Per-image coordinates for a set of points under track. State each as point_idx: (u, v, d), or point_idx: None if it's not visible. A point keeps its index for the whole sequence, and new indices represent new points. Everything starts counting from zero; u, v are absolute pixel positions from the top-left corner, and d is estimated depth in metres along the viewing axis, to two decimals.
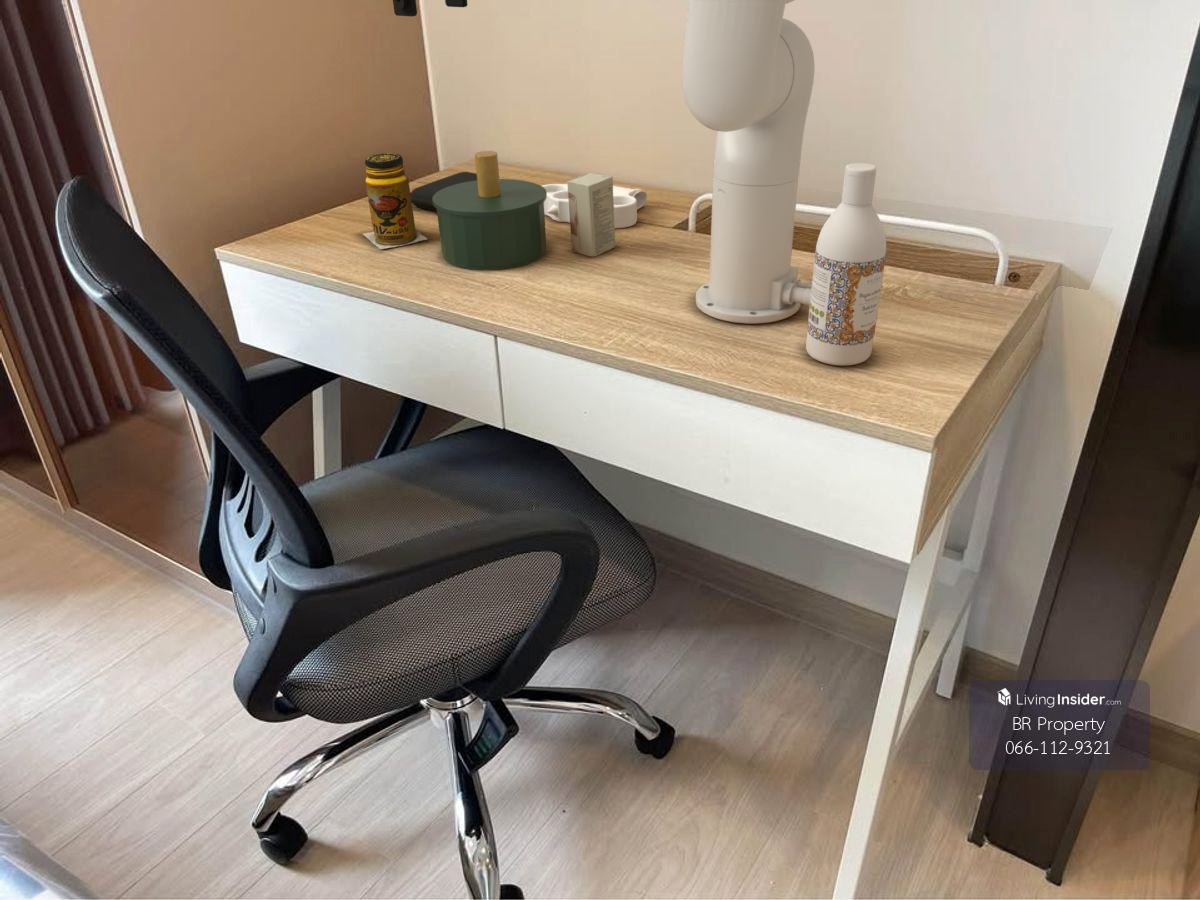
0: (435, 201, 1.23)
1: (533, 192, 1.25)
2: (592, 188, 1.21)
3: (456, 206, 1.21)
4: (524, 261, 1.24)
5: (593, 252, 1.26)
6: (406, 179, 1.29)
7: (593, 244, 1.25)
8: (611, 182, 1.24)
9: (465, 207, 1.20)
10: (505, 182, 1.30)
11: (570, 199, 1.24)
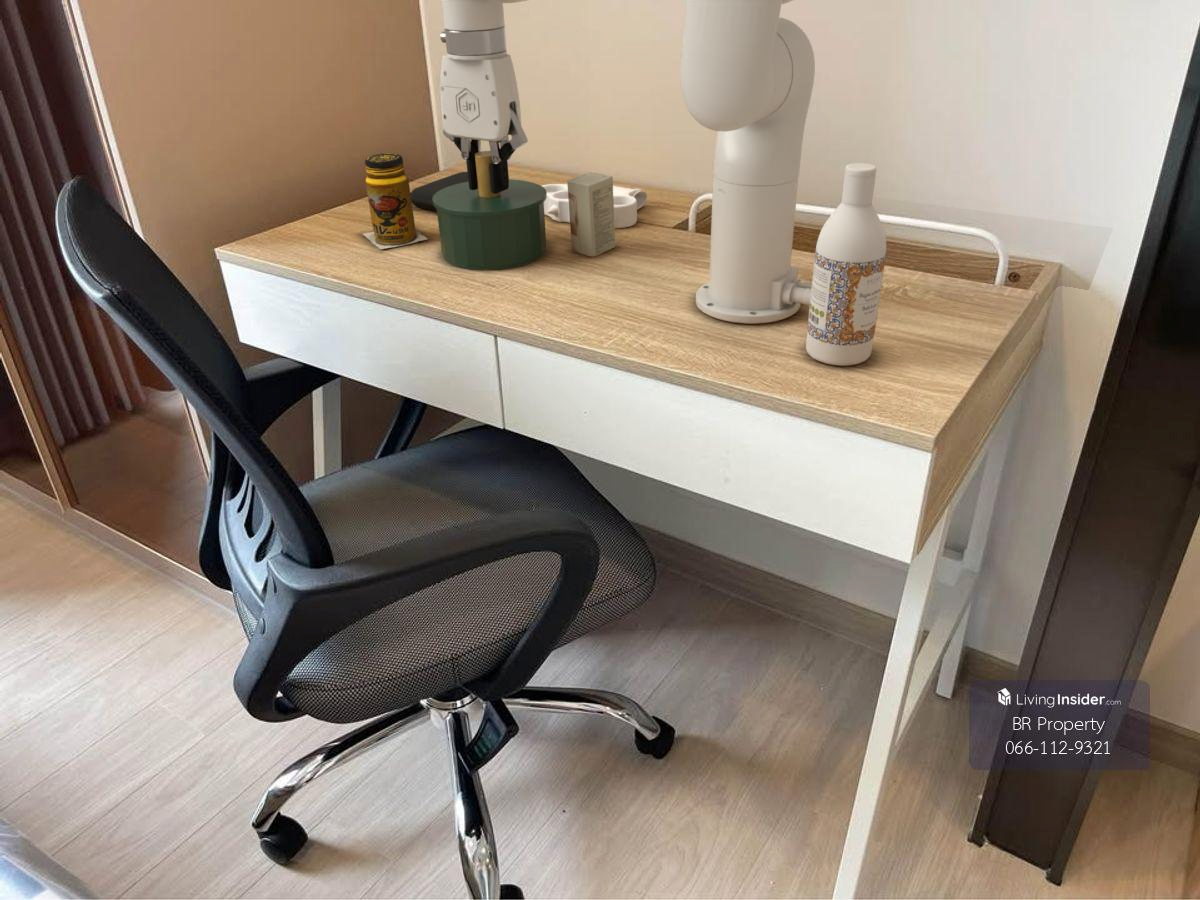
0: (435, 201, 1.23)
1: (533, 192, 1.25)
2: (592, 188, 1.21)
3: (456, 206, 1.21)
4: (524, 261, 1.24)
5: (593, 252, 1.26)
6: (406, 179, 1.29)
7: (593, 244, 1.25)
8: (611, 182, 1.24)
9: (465, 207, 1.20)
10: None
11: (570, 199, 1.24)
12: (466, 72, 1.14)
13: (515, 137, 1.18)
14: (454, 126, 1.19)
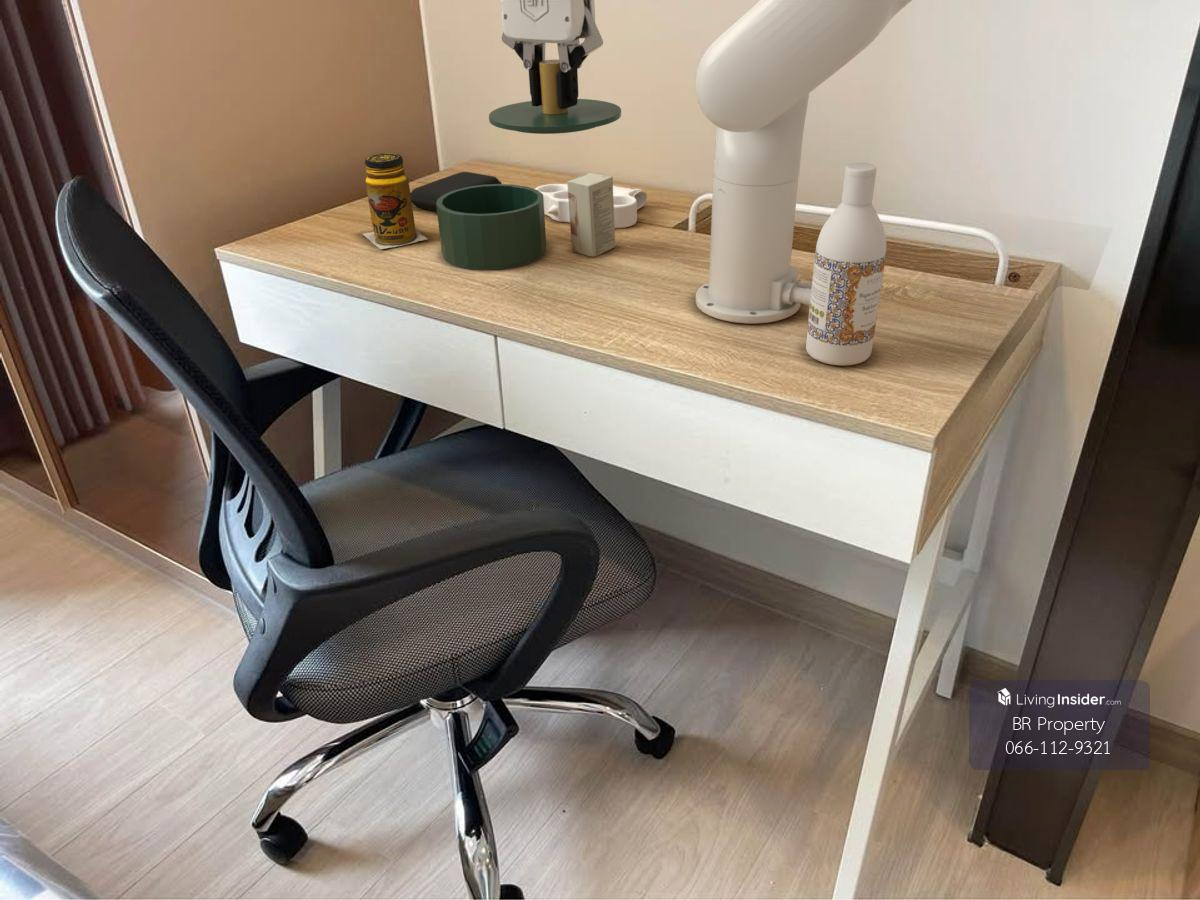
0: (493, 118, 1.05)
1: (605, 109, 1.08)
2: (592, 188, 1.21)
3: (518, 122, 1.03)
4: (524, 261, 1.24)
5: (593, 252, 1.26)
6: (406, 179, 1.29)
7: (593, 244, 1.25)
8: (611, 182, 1.24)
9: (529, 123, 1.03)
10: None
11: (570, 199, 1.24)
12: None
13: (589, 38, 1.00)
14: (516, 27, 1.02)
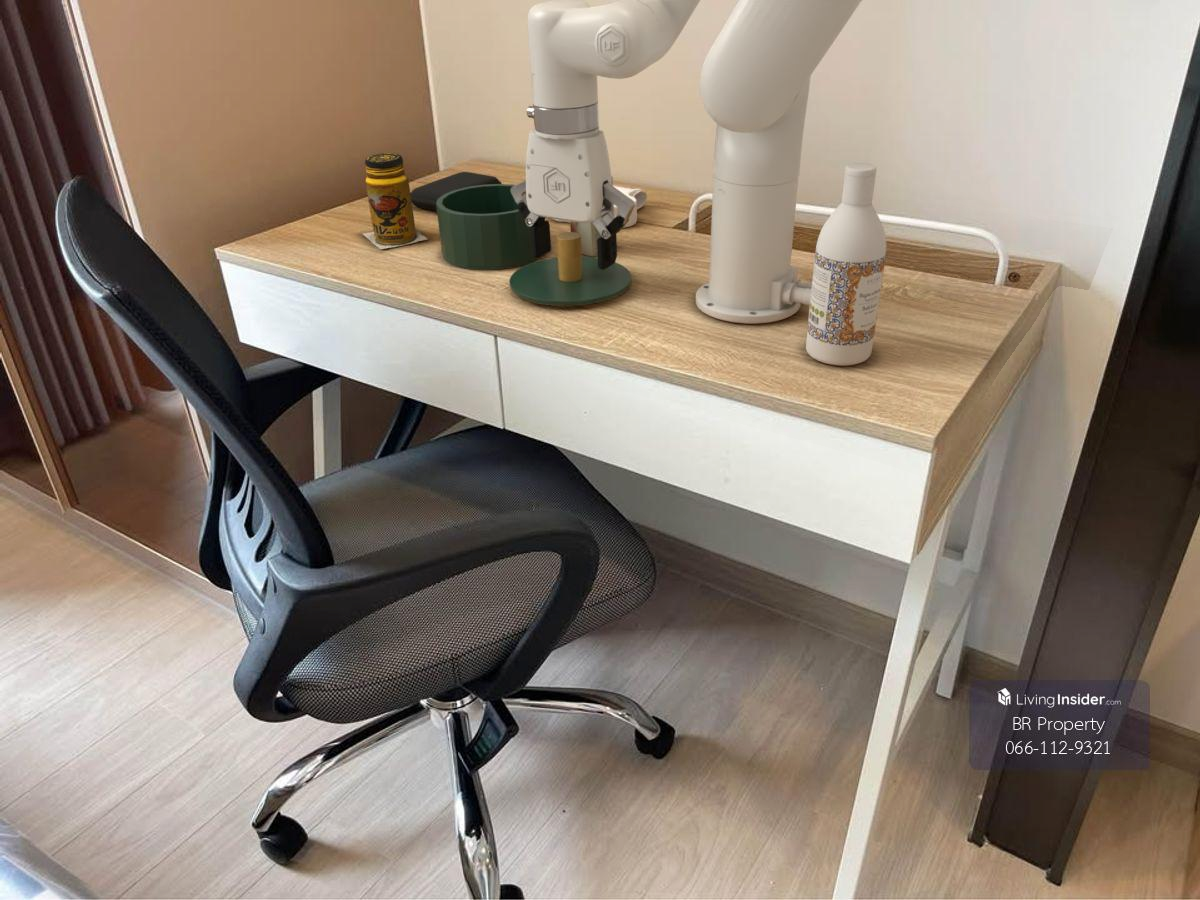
0: (513, 286, 1.14)
1: (617, 275, 1.17)
2: None
3: (537, 293, 1.12)
4: (524, 261, 1.24)
5: (593, 252, 1.26)
6: (406, 179, 1.29)
7: (593, 244, 1.25)
8: None
9: (548, 295, 1.12)
10: (584, 261, 1.21)
11: None
12: (557, 151, 1.06)
13: (621, 205, 1.07)
14: (540, 206, 1.10)
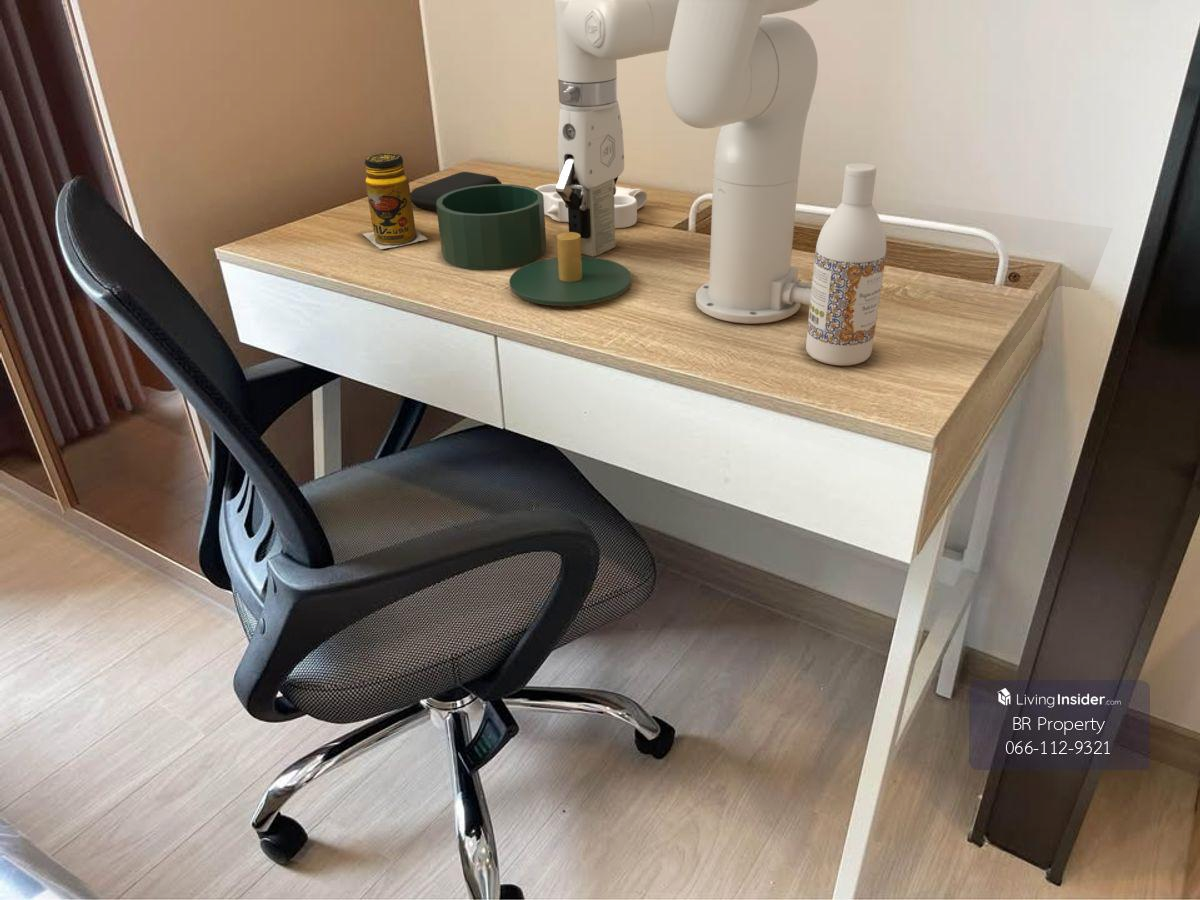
0: (513, 286, 1.14)
1: (617, 275, 1.17)
2: None
3: (537, 293, 1.12)
4: (524, 261, 1.24)
5: (593, 252, 1.26)
6: (406, 179, 1.29)
7: (593, 244, 1.25)
8: (611, 182, 1.24)
9: (548, 295, 1.12)
10: (584, 261, 1.21)
11: None
12: (608, 118, 1.18)
13: None
14: (597, 177, 1.20)
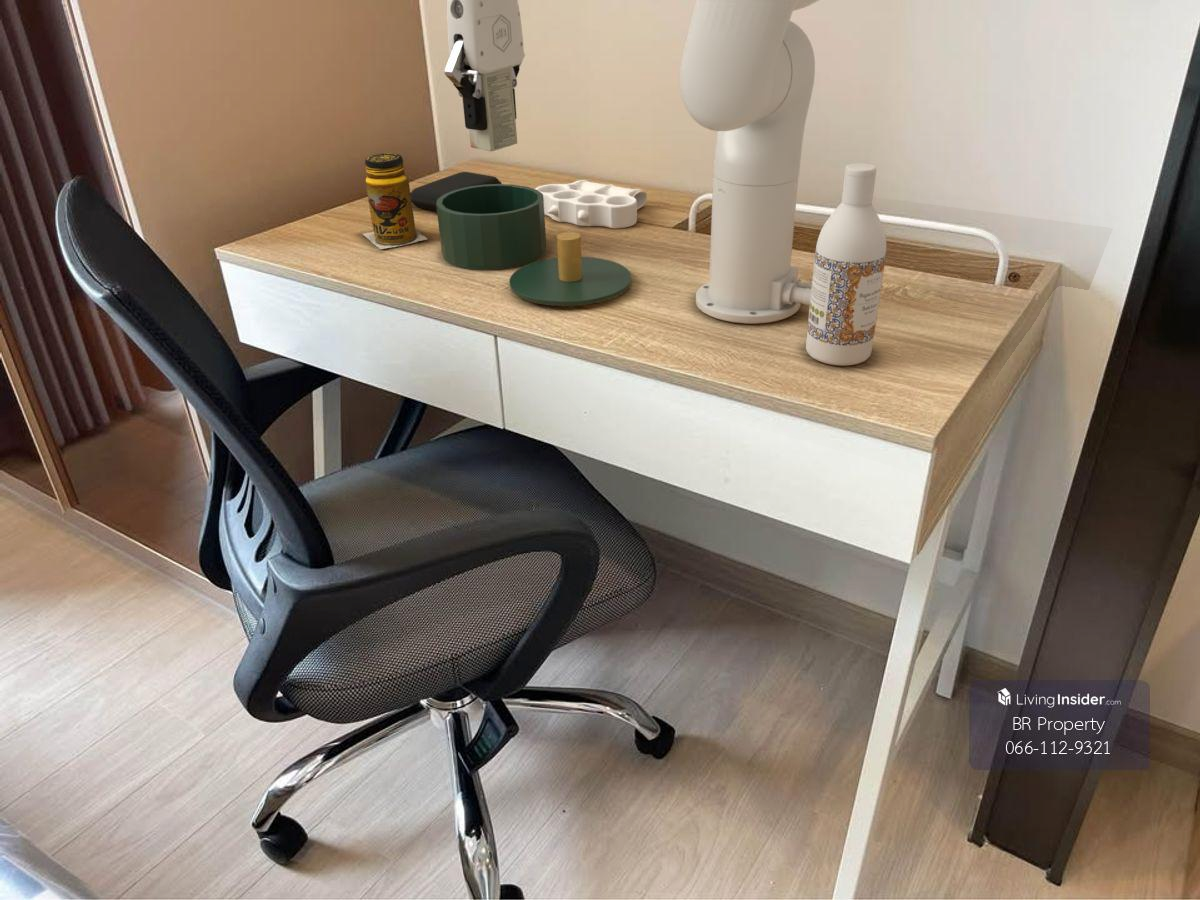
0: (513, 286, 1.14)
1: (617, 275, 1.17)
2: (486, 74, 1.14)
3: (537, 293, 1.12)
4: (524, 261, 1.24)
5: (491, 146, 1.18)
6: (406, 179, 1.29)
7: (491, 137, 1.18)
8: (508, 70, 1.16)
9: (548, 295, 1.12)
10: (584, 261, 1.21)
11: None
12: None
13: None
14: (490, 60, 1.12)
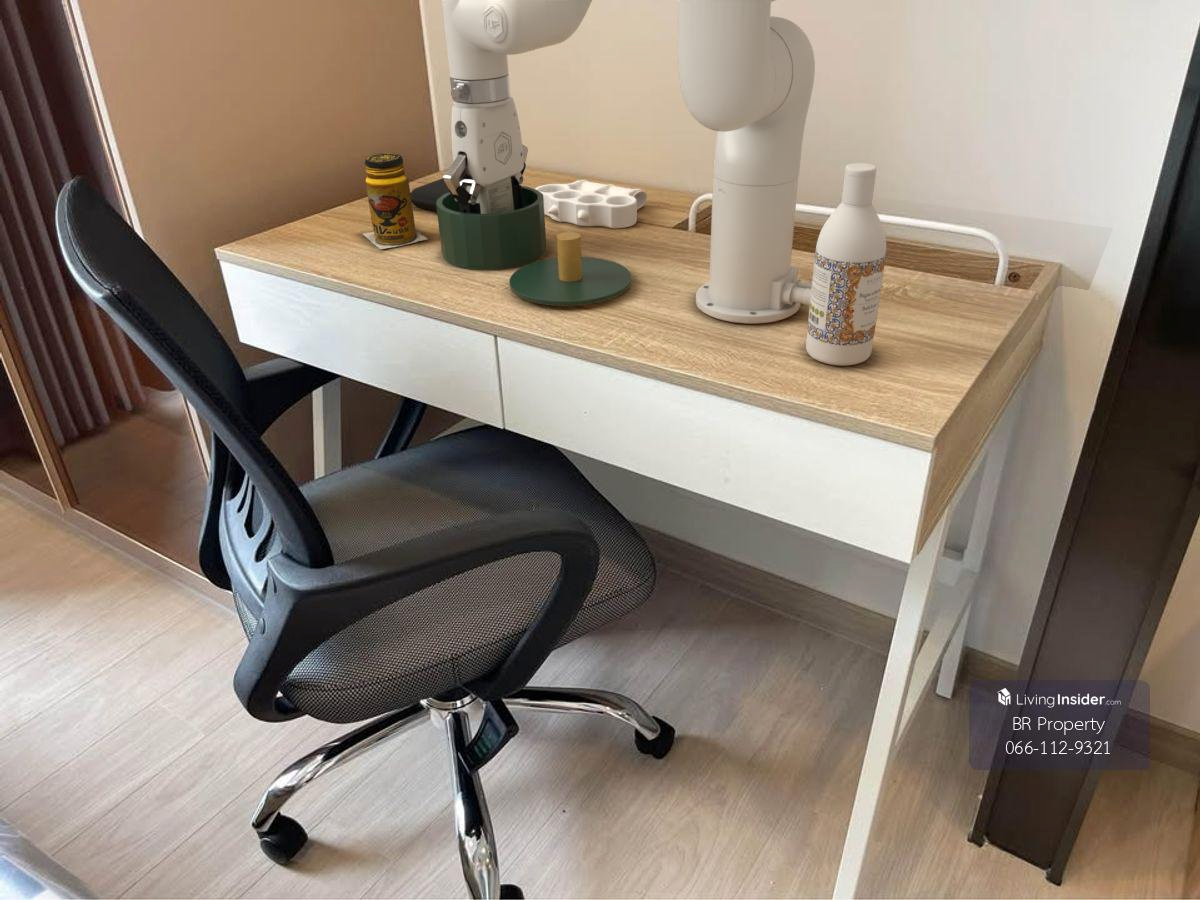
0: (513, 286, 1.14)
1: (617, 275, 1.17)
2: (487, 187, 1.21)
3: (537, 293, 1.12)
4: (524, 261, 1.24)
5: None
6: (406, 179, 1.29)
7: None
8: (509, 180, 1.24)
9: (548, 295, 1.12)
10: (584, 261, 1.21)
11: None
12: (501, 115, 1.18)
13: (522, 150, 1.27)
14: (492, 174, 1.20)
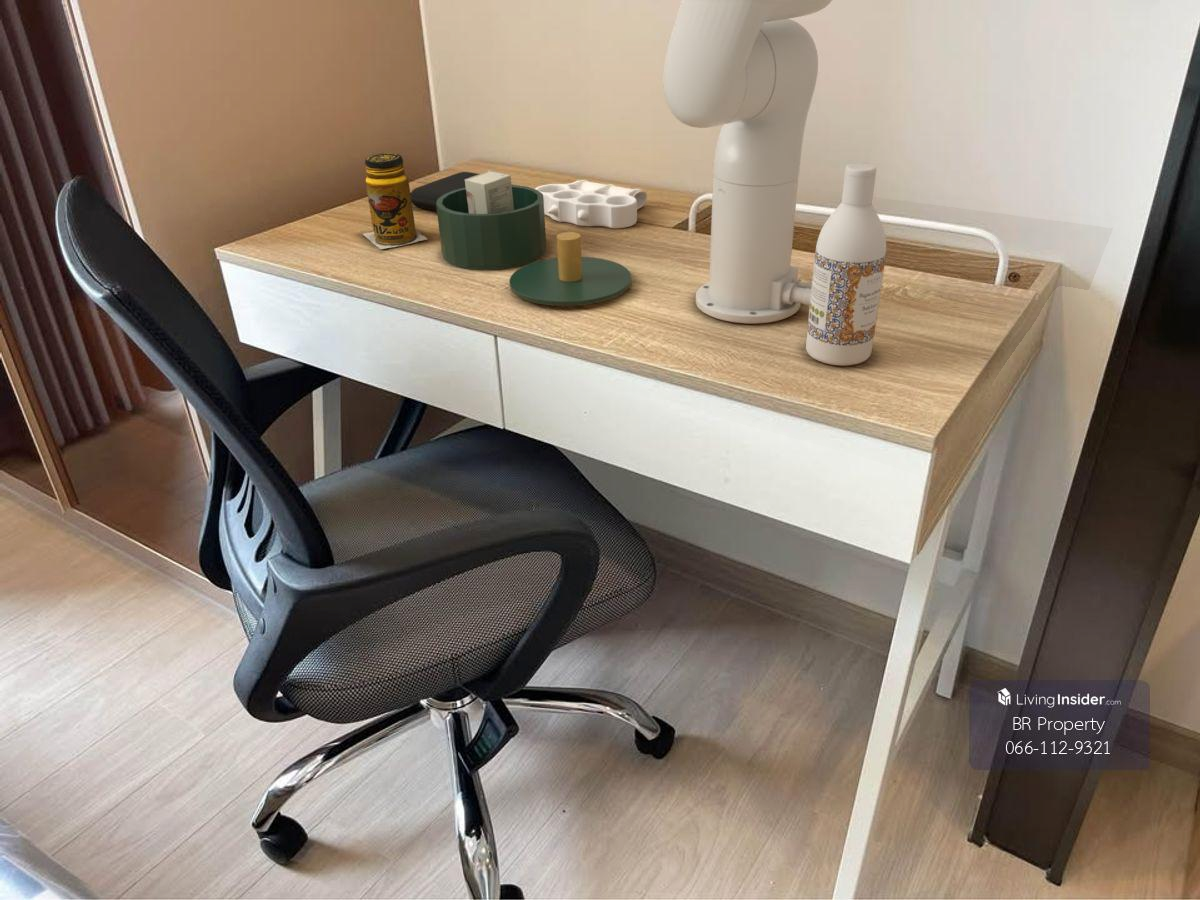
0: (513, 286, 1.14)
1: (617, 275, 1.17)
2: (487, 187, 1.21)
3: (537, 293, 1.12)
4: (524, 261, 1.24)
5: None
6: (406, 179, 1.29)
7: None
8: (509, 180, 1.24)
9: (548, 295, 1.12)
10: (584, 261, 1.21)
11: (468, 198, 1.24)
12: None
13: None
14: None
